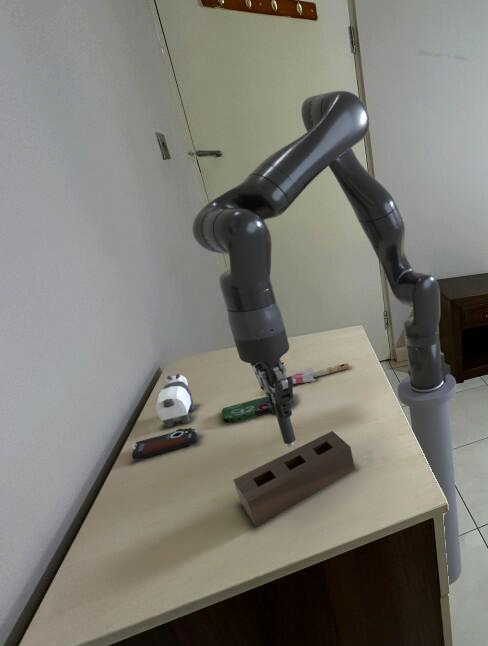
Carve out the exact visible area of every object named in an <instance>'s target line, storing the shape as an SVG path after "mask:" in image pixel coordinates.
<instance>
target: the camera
mask: <svg viewBox="0 0 488 646" xmlns="http://www.w3.org/2000/svg"><path fill="white" fill-rule="evenodd" d="M197 442H198V434H197V428H192V427H188V428H178V429H176V430H175V431H174V430H173V431H172V432H169V433H165V434H161V435H157V436H153V437H149V438H146V439H142V440H139V441H136V442H135V443H132V453H131V457H132V460H138V459H141V458H144V457H145V458H149V457H153V456H156V455H160V454H164V453H166V452H167V453H168V452H171V451H174V450H177V449H178V450H179V449H181V448H186V447H188V446H189V445H191V444H195V443H197Z"/></svg>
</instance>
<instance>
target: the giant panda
mask: <svg viewBox="0 0 488 646" xmlns="http://www.w3.org/2000/svg"><path fill="white" fill-rule="evenodd" d="M166 378H167V381H166V384H165V385H164V386H163V388H162V389H161V390H160V392H159V394H158V397H157V401H156V403H155V408H156V414H157V417H158V418H159V419H160V420H161V422H163V424H164V426H165V427H166V428H171V427H173V426H175V418H176V419H177V418H179V419H180V420H181V423H182V424H188V423H189V422H190V421H191V417H190V415H189V412H192V411H194V410H195V408H196V405H195V403H194V401H193V400H194V399H193V396H192V391H191V390H190V389H189V387H188V385H189V382H188V379H187V378H186V377H185V376H184V375H182V374H180V373H177V374H176V375H173V376H171V375H168V376H166Z"/></svg>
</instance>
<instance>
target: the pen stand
mask: <svg viewBox="0 0 488 646" xmlns="http://www.w3.org/2000/svg"><path fill="white" fill-rule="evenodd" d="M355 470H356V467H355V463H354V457H353V452H352V447H351V446H350V445H349V444H348V443H347V442H346V441H345V440H344V439H342V438H341V437H340V436H339V435H338V434H337V433H336V432H334V431H333V430H331V431H329V432H326V433H325V434H322V435H321V436H319V437H317V438H315V439H313V440H311V441H309V442H307V443H305V444H303V445H301V446H298V447H297V448H294V449H292V450H290V451H288V452H286V453H285V454H282V455H280V456H278V457H276V458H274V459H272V460H271V461H268V462H267V463H264V464H262V465H260V466H258V467H256V468H254V469H252V470H250V471H248V472H246V473H243V474H242V475H240V476H237V477H235V478H234V479H233V480H232V481H233V484H234V486H235V490H236V492H237V495H238V498H239V501H240V504H241V505H242V507H243V509H244V510H245V511H246V514H247V515H248V517H249V518H250V520H251V521H252V523H253V525H254V527H256V528H258V527H259V526H261V525H263V524H264V523H266V522H267V521H269V520H271V519H273V518H274V517H276V516H278V515H280V514H281V513H284V512H285V511H287V510H288V509H290V508H292V507H293V506H295V505H296V504H299V503H300V502H302V501H303V500H306V499H307V498H309V497H310V496H312V495H314V494H315V493H317V492H319V491H321V490H322V489H324V488H326V487H327V486H329V485H331V484H332V483H334V482H336V481H338V480H339V479H341V478H343V477H344V476H346V475H348V474H350V473H352V472H353V471H355Z"/></svg>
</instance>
